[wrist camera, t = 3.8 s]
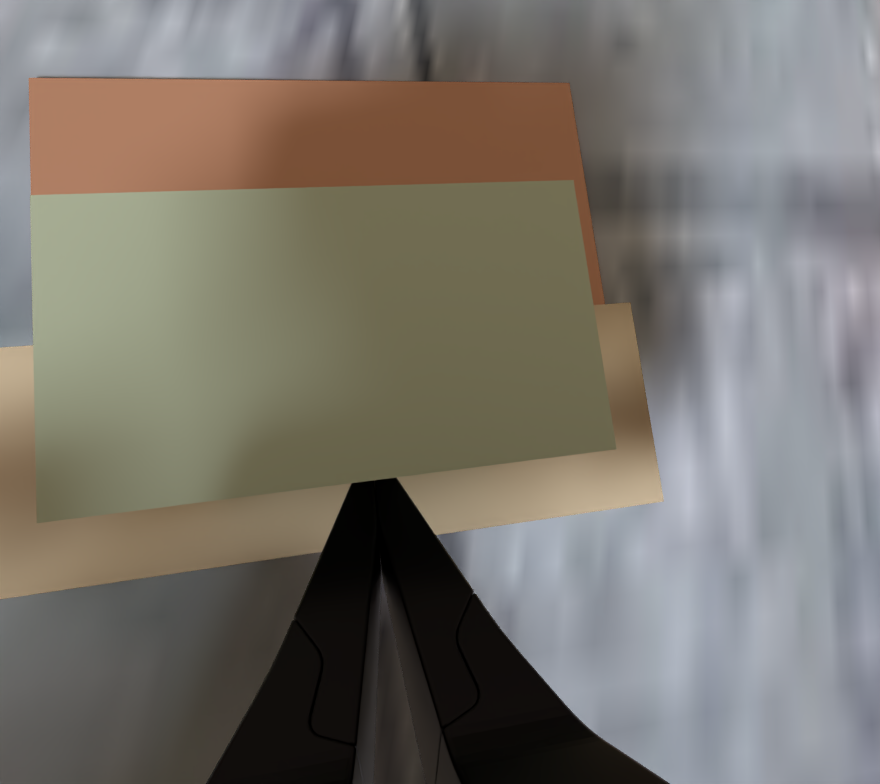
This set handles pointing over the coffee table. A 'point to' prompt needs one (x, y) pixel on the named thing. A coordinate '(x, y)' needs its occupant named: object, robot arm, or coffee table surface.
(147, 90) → the rubber mat
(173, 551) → the birch board
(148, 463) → the green block
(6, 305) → the coffee table surface
